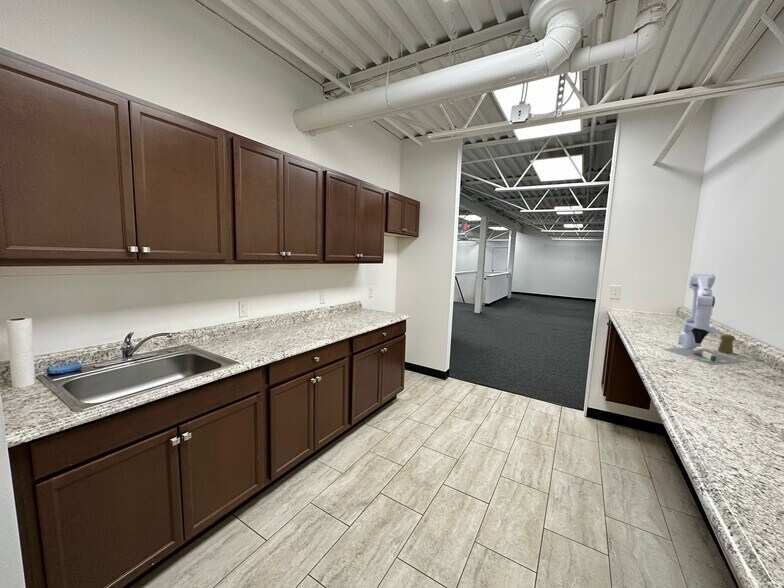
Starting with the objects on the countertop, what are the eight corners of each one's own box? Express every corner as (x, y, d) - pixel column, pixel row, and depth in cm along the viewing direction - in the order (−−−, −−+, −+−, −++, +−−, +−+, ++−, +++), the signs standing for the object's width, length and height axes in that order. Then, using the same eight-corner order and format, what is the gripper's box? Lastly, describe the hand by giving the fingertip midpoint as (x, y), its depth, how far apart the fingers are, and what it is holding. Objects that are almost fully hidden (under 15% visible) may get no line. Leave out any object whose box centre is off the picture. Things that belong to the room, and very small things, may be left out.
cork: (736, 356, 167) (739, 336, 165) (722, 355, 168) (726, 335, 166) (726, 352, 173) (730, 333, 171) (713, 351, 174) (717, 332, 172)
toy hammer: (690, 351, 168) (691, 345, 168) (703, 353, 167) (704, 346, 166) (706, 360, 156) (708, 353, 155) (720, 361, 154) (722, 355, 153)
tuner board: (661, 350, 174) (661, 348, 174) (694, 349, 178) (694, 346, 178) (711, 367, 151) (711, 364, 150) (747, 364, 154) (748, 362, 154)
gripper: (681, 315, 168) (677, 339, 170) (712, 322, 154) (707, 347, 156) (691, 315, 169) (687, 338, 171) (723, 321, 155) (719, 347, 157)
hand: (698, 343), depth 163 cm, fingers closed
